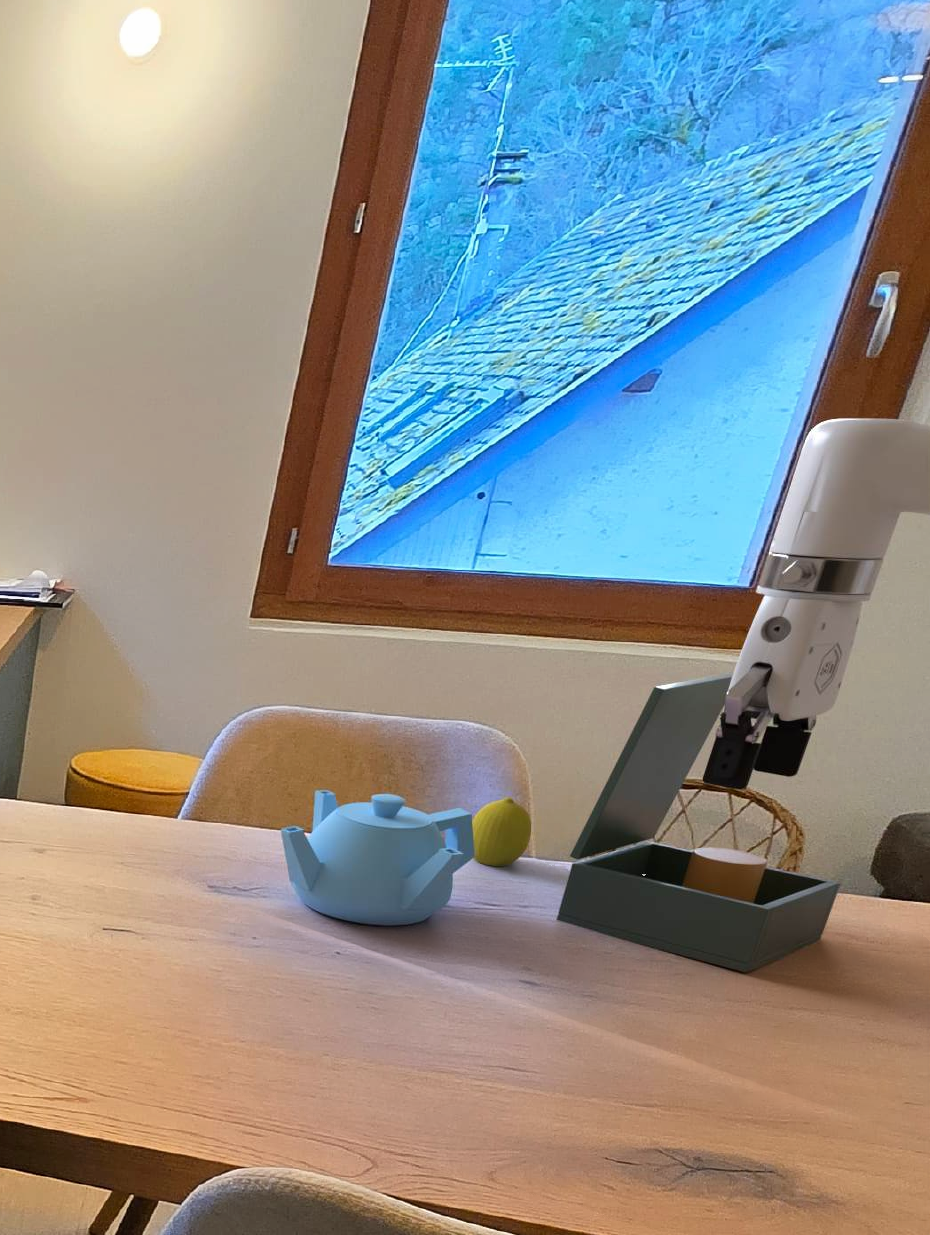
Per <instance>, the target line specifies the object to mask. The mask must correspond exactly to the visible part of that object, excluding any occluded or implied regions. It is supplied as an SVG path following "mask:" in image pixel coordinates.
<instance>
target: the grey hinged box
mask: <svg viewBox="0 0 930 1235" xmlns="http://www.w3.org/2000/svg"><path fill="white" fill-rule="evenodd" d="M692 852H693V850H691V849H687V848H682V847H677V846H673V845H668V844H663V843H659V842H656V841H655V842H654V841H648V840H647V841H644V842H642V843H641V842H640V843H637V844H633V845H630V846H626V847H623V848H619V849H616V850H614V851H613V850H612V851H609V852H605V853H604V854H603V853H602V854H598V855H595V856H591V857H588V858H586V859H585V858H584V859H582V860H578V861H575V862H573V863H571V867H570V871H569V874H568V877H567V881H566V885H565V888H564V892H563V895H562V898H561V902H560V905H559V909H558V911H557V912H558V913H557V916H556V921H559V922H562V923H566V924H569V925H572V926H575V927H580V928H583V929H585V930H590V931H593V932H596V933H600V934H603V935H607V936H610V937H612V938H616V939H621V940H623V941H627V942H631V943H634V944H638V945H642V946H645V947H648V948H649V947H650V948H653V949H656V950H660V951H664V952H668V953H672V954H675V955H679V956H681V957H682V956H683V957H686V958H689V959H694V960H698V961H701V962H705V963H708V964H711V965H712V964H713V965H715V966H720V967H723V968H728V969H731V970H734V971H738V972H742V973H747V974H748V973H749V972H752V971H754V970H757V969H759V968H762V967H764V966H767V965H768V964H772V963H773V962H776V961H779V960H781V959H784V958H785V957H787V956H790V955H791V954H794V953H796V952H798V951H800V950H803V949H805V948H806V947H809V946H810V945H812V944H815V943H816V942H818V941H820V940H821V939H822V936H823V934H824V932H825V928H826V926H827V923H828V920H829V917H830V914H831V913H832V912H831V911H832V909H833V906H834V904H835V901H836V898H837V896H838V892H839V890H840V887H841V884H842V883H841V882H840V881H834V880H832V879H831V880H830V879H825V878H822V877H817V876H812V875H807V874H803V873H798V872H795V871H794V872H793V871H789V870H784V869H779V868H774V867H772V866H771V867H770V866H766V867H765V870H764V873H763V876H762V879H761V882H760V885H759V888H758V891H757V894H756V897H755V900H754V903H749V902H745V901H741V900H736V899H732V898H728V897H724V896H719V895H715V894H711V893H707V892H702V891H698V890H694V889H690V888H685V887H682V884H683V881H684V878H685V874H686V871H687V868H688V865H689V862H690V859H691V856H692ZM642 874H646V875H645V876H643V875H642Z"/></svg>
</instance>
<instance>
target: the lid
mask: <svg viewBox="0 0 930 1235" xmlns="http://www.w3.org/2000/svg"><path fill="white" fill-rule="evenodd" d="M733 673H734V672H728V673H723V674H717V675H713V676H707V677H701V678H696V679H691V680H685V681H679V682H674V683H669V684H663V685H658V686H657V685H656V686H654V687H653V689H652V691H651V693H650V695H649V697H648V699H647V701H646V702H645V705H644V706H643V708H642V710H641V713H640V714H639V717H638V719H637V720H636V723H635V725H634V727H633V728H632V730H631V732H630V734H629V736H628V739H627V741H626V743H625V745H624V747H623V749H622V751H621V753H620V755H619V757H618V758H617V760H616V763H615V765H614V767H613V768H612V770H611V772H610V774H609V777H608V779H607V781H606V783H605V785H604V786H603V788H602V790H601V793H600V795H599V797H598V799H597V800H596V803H595V805H594V806H593V808H592V810H591V813H590V815H589V817H588V819H587V821H586V823H585V824H584V827H583V829H582V830H581V833H580V835H579V837H578V838H577V841H576V843H575V844H574V847H573V848H572V850H571V852H570V855H569V857H570V858H573V859H575V860H578V861H580V860H581V859H582V860H583V859H585V858H590V857H593V856H597V855H600V854H603V853H607V852H611V851H613V850H618V849H621V848H625V847H628V846H632V845H635V844H639V843H641V842H646V841H648V840H651V839H654V838H655V837H656V835H657V833H658V832H659V829H660V827H661V826H662V823H663V822H664V820H665V818H666V816H667V814H668V813H669V810H670V809H671V806H672V805H673V803H674V801H675V800H676V797H677V795H678V794H679V791H680V790H681V788H682V787H683V784H684V782H685V781H686V779H687V777H688V775H689V773H690V772H691V769H692V767H693V765H694V764H695V761H696V759H697V758H698V756H699V754H700V753H701V750H702V748H703V746H704V745H705V743H706V740H707V739H708V737H709V735H710V733H711V731H712V730H713V728H714V726H715V724H716V722H717V720H718V718H719V716H720V715H721V713H722V712H723V710H724V708H725V698H726V694H727V692H728V689H729V686H730V682H731V679H732V676H733Z"/></svg>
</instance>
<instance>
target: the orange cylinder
mask: <svg viewBox="0 0 930 1235" xmlns="http://www.w3.org/2000/svg"><path fill="white" fill-rule="evenodd" d="M692 851H693V852H692V856H691V859H690V862H689V865H688V868H687V871H686V874H685V878H684V881H683V884H682V887H685V888H690V889H694V890H698V891H702V892H707V893H711V894H715V895H719V896H724V897H728V898H732V899H736V900H741V901H745V902H749V903H754V900H755V897H756V894H757V891H758V888H759V885H760V882H761V879H762V876H763V873H764V870H765V867H767V864H768V860H767V859H766V858H765V857H763V856H761V855H758V854H756V853H752V852H748V851H744V850H738V849H733V848H726V847H725V848H724V847H711V846H710V847H709V846H707V847H705V846H704V847H697V848H694V849H693V850H692Z"/></svg>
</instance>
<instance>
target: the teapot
mask: <svg viewBox="0 0 930 1235" xmlns="http://www.w3.org/2000/svg"><path fill="white" fill-rule="evenodd" d="M405 802H406V799H405V798H403V797H402V796H399V795H396V794H391V793H378V794H373V795H371V801H368V802H367V801H365V802H362V801H360V802H350V803H345V804H343V805H341V806H339V804H338V800H337V799H336V793H335V792H332V791H330V790H327V789H325V790H323V789H322V790H315V793H314V805H313V820H312V831H311V833H310V834H309V835H308V836H306V834H305V829H304V828H301V827H299V826H297V825H293V826H287V827H284V828H280V834H281V840H282V845H283V850H284V856H285V861H286V867H287V872H288V877H289V881H290V885H291V886H292V888H293V889H294V892H296V894H297V895H298V897H299V898H300V899H301V901H302V903H304V904H305V905H306V906H307V907H309V908H311V909H313V911H316V912H319V913H321V914H324V915H326V916H329V917H332V918H335V919H339V920H343V921H348V922H352V923H358V924H363V925H373V926H374V925H375V926H406V925H413V924H418V923H420V922H423V921H425V920H427V919H428V918H430V917H432V916H434V915H435V914H436V913H438V912H439V911H441V910H442V909H443V908H445V906H447V904H448V903H449V901H450V900H451V897H452V892H453V884H454V880H453V879H454V876H453V874H455V873H456V872H457V871H458V870H459V869H460V870H461V868H463V867H464V866H465V865H467V863H469V862H470V861H471V860H474V857H475V851H474V839H473V826H472V821H473V816H472V812H471V813H470V812H469V811H467V810H465V809H463V808H461V807H456V808H453V809H452V808H451V809H447V810H443V811H439V812H438V811H437V812H434V813H428V814H427V813H425V812H423V811H420V810H418V809H415V808H412V807H410V806H409V807H408V806H404V804H405ZM443 831H445V836H444V837H445V840H444V838H443V835H442V833H441V832H443Z"/></svg>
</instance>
